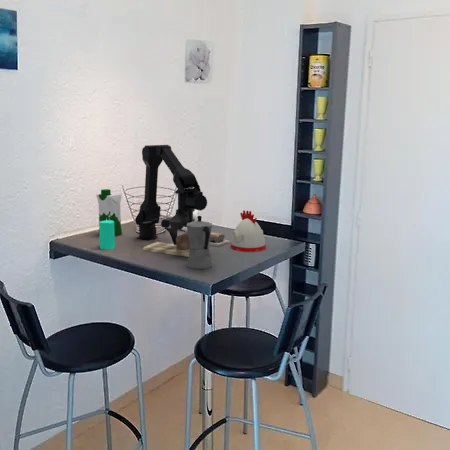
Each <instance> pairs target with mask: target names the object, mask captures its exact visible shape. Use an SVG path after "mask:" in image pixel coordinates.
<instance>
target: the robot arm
mask: <svg viewBox="0 0 450 450" xmlns="http://www.w3.org/2000/svg"><path fill="white" fill-rule="evenodd" d="M141 156H142V161H143V163H144V165H145V179H144V180H145V181H144V199H143V201H142V203H141V204H140V206H139V212H138V214H137V215H136V217H135V218H134V219H135V224H136V225H138V226H139V228H138V229H139V230H138V233H139V236H137V238H136V239H140V240H147V241H150V240H153V239H155V238H158V235H157V226H156V224H160V227H161V228H164V230H166V231H167V232H168V233H169V235H170V238H171V240H172V244H174V245H176V237H177V236H178V230H181V229H182V228H183V227H187V223H190V222H193V221H195V219H193V211H195V209H196V210H198V211H199V212H200V211H203V210H205V209H206V207H207V206H208V200H207V197H206V196H205V195H204V192H203V191H201V187H200V185H199V182H198V180H197V177H196V175H195V174H194V173H193V172H192V171H191V170H190V169H189V168H186V167H184V165H183V164H182V162H181V161H180V159H178V157H177V156H176V154H175V152H174V151H173V150H172V147H171V145H169V144H154V145H153V144H152V145H150V144H149V145H144V147H142V149H141ZM162 162H164V164H165V166H166V167H167V168H168V170H169V171H170V173H171V174H172V181H173V183H174V185H175V187H176V188H177V189H176V190H175V191H174V193H175V194H177V209H176V210H175V215H173V216H172V217H166V218H163V219H162V220H161V221H160V218H161V206H160V205H159V204H158V202H157V194H158V193H157V192H158V176H159V175H158V174H159V167H160V166H161V163H162ZM159 222H160V223H159ZM207 222H208V221H207ZM208 223H210V222H208Z"/></svg>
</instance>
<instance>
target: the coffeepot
mask: <svg viewBox="0 0 450 450" xmlns="http://www.w3.org/2000/svg"><path fill="white" fill-rule="evenodd" d="M197 218H198V221H193V222H190V223H187V231H188V238H189V243H190V250H189V256H188V258H187V263H186V266H187V268H190V269H193V270H206V269H209V268H211V267H212V264H213V263H212V258H211V251H210V246H209V242H210V235H211V232H212V228H213V223H212V222H209V223H208V221H204V220H202V218H203V217H202V215H198V216H197Z"/></svg>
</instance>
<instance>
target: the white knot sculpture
mask: <svg viewBox="0 0 450 450" xmlns="http://www.w3.org/2000/svg"><path fill="white" fill-rule="evenodd" d="M197 216H200V210H196V209H195V211H193V219H195V221H198V218H197ZM180 230H182V232H183V231H184V232H185V231H187V227H183V228H182V229H180Z"/></svg>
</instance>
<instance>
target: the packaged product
mask: <svg viewBox="0 0 450 450" xmlns="http://www.w3.org/2000/svg"><path fill="white" fill-rule="evenodd" d="M185 233H188V231H184V234H185ZM225 236H226V235H225V234H223V233H220V232H213V231H211V235H210V242H209V247H215V248H219V247H223V246H225V245H228V244H229V243H230V244H231V239H230V240H227V239H224V238H225Z"/></svg>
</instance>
